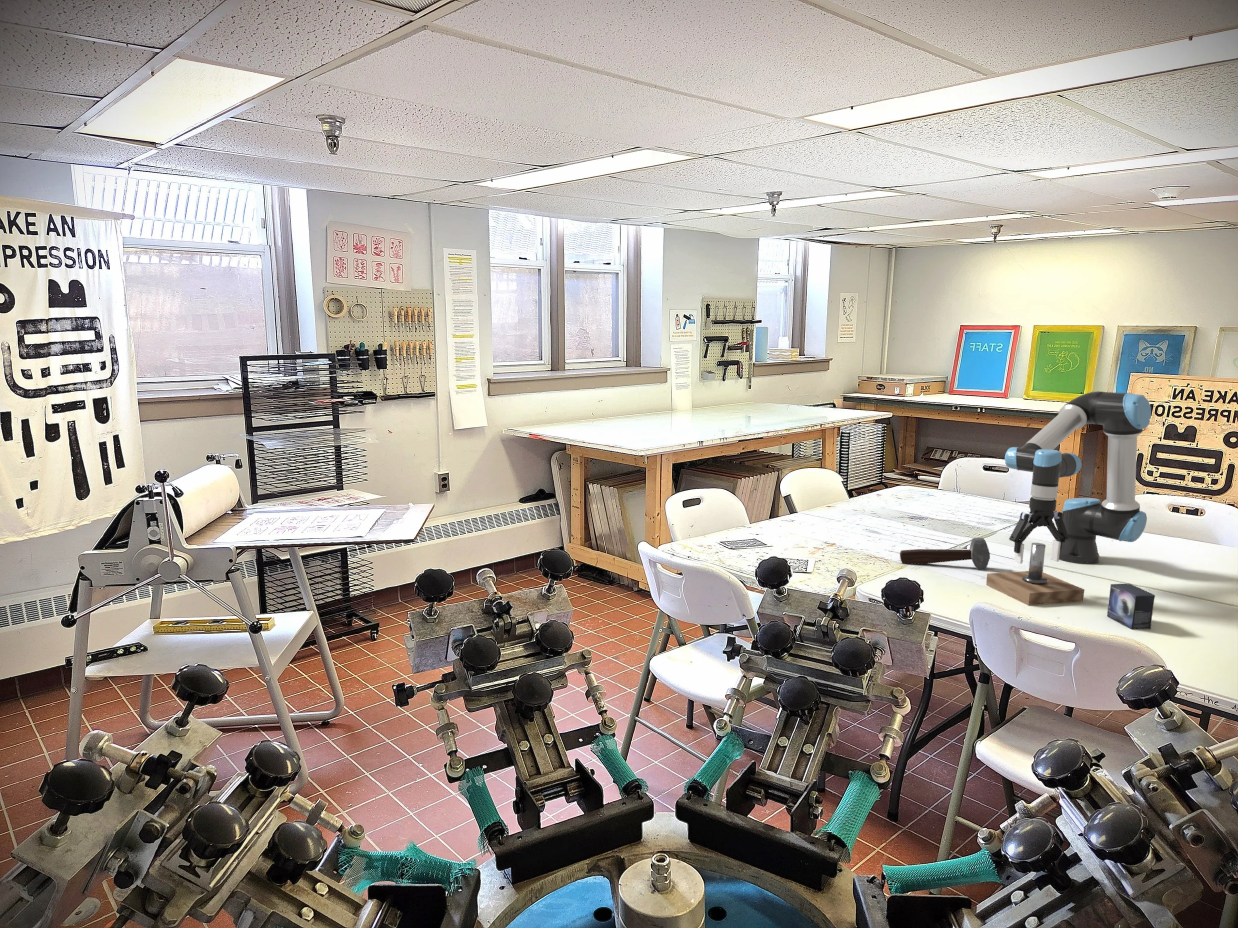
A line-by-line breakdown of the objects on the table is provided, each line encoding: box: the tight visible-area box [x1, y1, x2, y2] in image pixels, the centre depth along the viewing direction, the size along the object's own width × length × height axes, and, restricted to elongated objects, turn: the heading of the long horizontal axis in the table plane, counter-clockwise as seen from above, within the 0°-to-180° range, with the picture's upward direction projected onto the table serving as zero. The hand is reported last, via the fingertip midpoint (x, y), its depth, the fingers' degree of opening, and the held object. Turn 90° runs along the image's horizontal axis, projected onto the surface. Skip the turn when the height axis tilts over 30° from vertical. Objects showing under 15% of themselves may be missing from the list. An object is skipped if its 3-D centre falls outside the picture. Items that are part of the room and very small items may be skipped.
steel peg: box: [1023, 542, 1047, 585], centre depth 252 cm, size 7×7×16 cm
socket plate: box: [985, 570, 1085, 606], centre depth 253 cm, size 20×20×4 cm
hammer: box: [899, 537, 991, 571], centre depth 282 cm, size 5×11×30 cm
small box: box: [1106, 582, 1156, 630], centre depth 228 cm, size 11×6×10 cm, turn 5°
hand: (1036, 561), depth 252 cm, fingers open, 13 cm apart
